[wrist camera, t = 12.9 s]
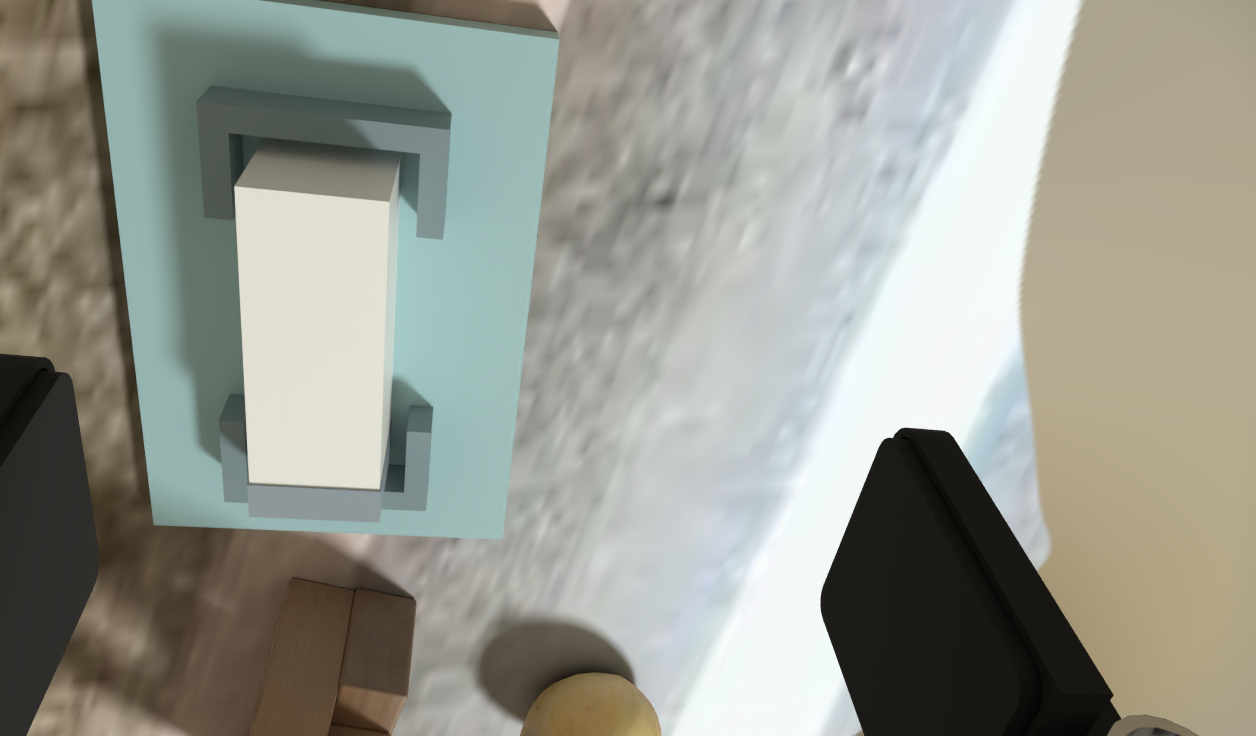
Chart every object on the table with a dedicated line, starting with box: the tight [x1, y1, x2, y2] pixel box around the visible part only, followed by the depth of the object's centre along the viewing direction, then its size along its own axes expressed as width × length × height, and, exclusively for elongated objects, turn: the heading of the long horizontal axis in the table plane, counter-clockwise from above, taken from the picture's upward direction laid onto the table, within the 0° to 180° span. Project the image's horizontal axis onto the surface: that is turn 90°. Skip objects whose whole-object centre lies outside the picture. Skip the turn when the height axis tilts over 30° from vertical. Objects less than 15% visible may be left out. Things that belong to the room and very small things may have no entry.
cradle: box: [92, 0, 559, 539], centre depth 40 cm, size 24×16×3 cm, turn 171°
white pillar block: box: [234, 138, 402, 523], centre depth 38 cm, size 14×5×5 cm, turn 171°
